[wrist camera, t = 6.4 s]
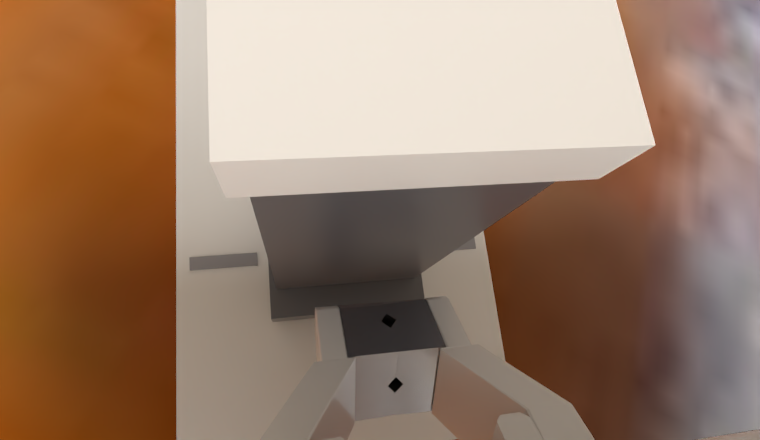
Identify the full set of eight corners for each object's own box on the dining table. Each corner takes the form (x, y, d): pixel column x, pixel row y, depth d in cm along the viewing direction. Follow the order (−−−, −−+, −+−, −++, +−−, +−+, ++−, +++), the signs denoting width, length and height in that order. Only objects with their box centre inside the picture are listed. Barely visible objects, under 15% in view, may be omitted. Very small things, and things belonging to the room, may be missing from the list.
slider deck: (498, 423, 16) (518, 430, 15) (188, 469, 15) (175, 482, 13) (410, -126, 23) (418, -161, 21) (183, -143, 21) (174, -182, 19)
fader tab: (415, 307, 15) (671, 200, 5) (273, 321, 14) (210, 229, 4) (400, 188, 16) (584, -114, 6) (266, 195, 16) (203, -142, 5)
